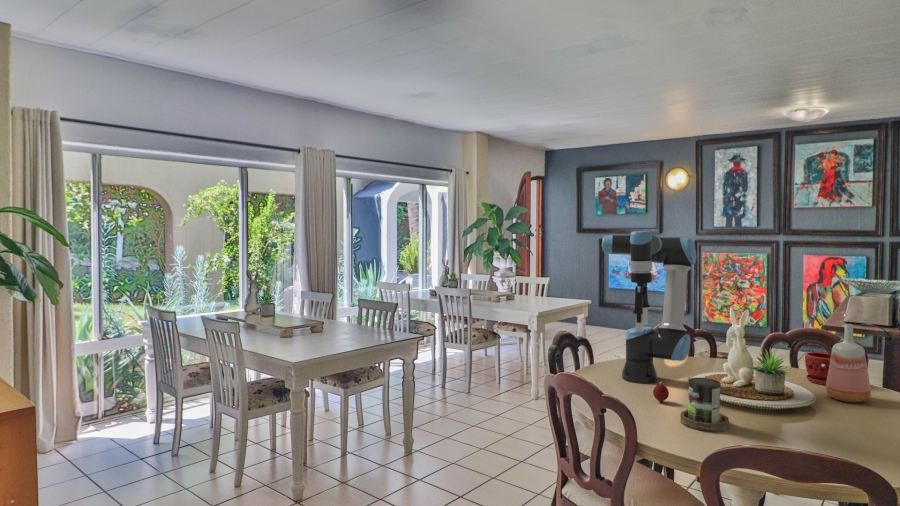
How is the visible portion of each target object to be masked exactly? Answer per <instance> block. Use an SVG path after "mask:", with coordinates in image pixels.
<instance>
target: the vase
mask: <svg viewBox="0 0 900 506" xmlns="http://www.w3.org/2000/svg"><path fill="white" fill-rule="evenodd" d="M843 334H844V335H843V336H844V337H843V341H840V342H837V343H835V344H834V345H833V346H832V348H831V353H830V354H831V359H830V364H829V370H828V375H827V381H826V385H825V392H826V393H827V395H828V396H829V397H831V398H833V399H835V400H837V401H842V402H847V403H853V404H854V403H858V404H859V403H865V402H866V401H868V400H869V399H871V395H872V393H871V392H872V390H871V383H870V377H869V369H868V363H867V358H866V356H867V355H866V351H865V348H864V347H863V346H862V345H860V344H858V343H856V342H855V341H854V325H853V323H852V324H850V323H845V324H844V332H843Z"/></svg>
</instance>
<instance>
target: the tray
mask: <svg viewBox="0 0 900 506" xmlns="http://www.w3.org/2000/svg"><path fill="white" fill-rule="evenodd" d="M729 422H730V419H729V416H727V415H725V414H723V413H721V412H720V423H703V422H697V421H694V420H690V419H688V409H685V410H683V411H681V412H680V423H681V424H682V425H683V426H685V427H687V428H689V429H692V430H696V431H701V432H707V433H708V431H709V433H717V432H724V431H726V430H729V427H730V426H729V425H730V423H729Z"/></svg>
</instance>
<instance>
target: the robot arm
mask: <svg viewBox="0 0 900 506" xmlns="http://www.w3.org/2000/svg"><path fill="white" fill-rule="evenodd" d="M601 240H602V241H601V248H602V252H603V253H604V254H611V255H612V254H613V255H624V256H630V262H629V264H628V266H630V271H631V272H630V281H631V283H633V284H637V285H636V286H635V287H634V288H635V289H634V291H635V296H634V310H633V311H632V314H634V317H635V318H634V319H635V320H634V321H635V327H631V328H629V329H627V330H626V332H625V361H624V365H623V369H622V371H621V378H622V379H623V380H624V381H627V382H630V383H637V384H646V383H647V384H650V383H655V382H657V381H658V374H657V370H656V367H655V364H654V358H655V359H661V360H669V361H672V362H673V361H678V362H681V361H682V362H683V361H685V360H686V358H687V356H688V355H689V352H690V348H691V343H692V342H691V338H692V337H691V335H690V334H687V328H685V327H684V322H685V321H684V318H685V306H686V305H685V304H686V289H687V277H688V272H689V271H690V270H691V269H692V265H694V264H696V263H697V250H696V246H695V242H694V241H693V239H692V238H690V237H682V236H679V237H678V236H676V237H659V236H658V235H655V234H652V232H651V231H650V230H636V231H635V230H634V231H631V232H630V234H623V235H621V234H618V235H617V234H610V235H608V234H606V235H605V236H603V238H602V239H601ZM653 263H655V264H662V267H663V268H664V270H665V282H664V295H663V308H662V309H663V311H662V322H661V325H659V326H658V328H657V330H656V331H654V328H653V327H652V326H644V325H648V324H649V309H648V308H650V306H651V305H650V304H649V297H648V296H649V295H648V284H649V283H652V281H653V276H652V275H653V274H652V271H653V269H652V268H653Z"/></svg>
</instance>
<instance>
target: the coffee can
mask: <svg viewBox="0 0 900 506" xmlns="http://www.w3.org/2000/svg"><path fill="white" fill-rule="evenodd" d="M687 383H688V398H687V399H688V403H687V405H688V407H687V408H688V409H687V410H688V419H690V420H694V421H697V422H703V423H720V413H721V410H720V408H721V407H720V406H721V405H720V404H721V385H722V384H721V382H720V381H718V380H716V379H712V378H709V377H692V378H689V379H688V381H687Z"/></svg>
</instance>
